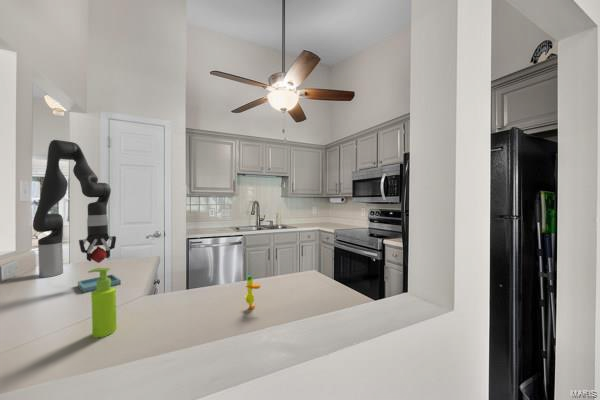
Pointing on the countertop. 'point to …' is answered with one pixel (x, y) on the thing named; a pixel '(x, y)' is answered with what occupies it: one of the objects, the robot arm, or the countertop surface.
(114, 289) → the soap dispenser
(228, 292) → the countertop surface
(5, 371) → the countertop surface
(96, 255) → the onion
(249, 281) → the toy figure
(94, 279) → the tray
